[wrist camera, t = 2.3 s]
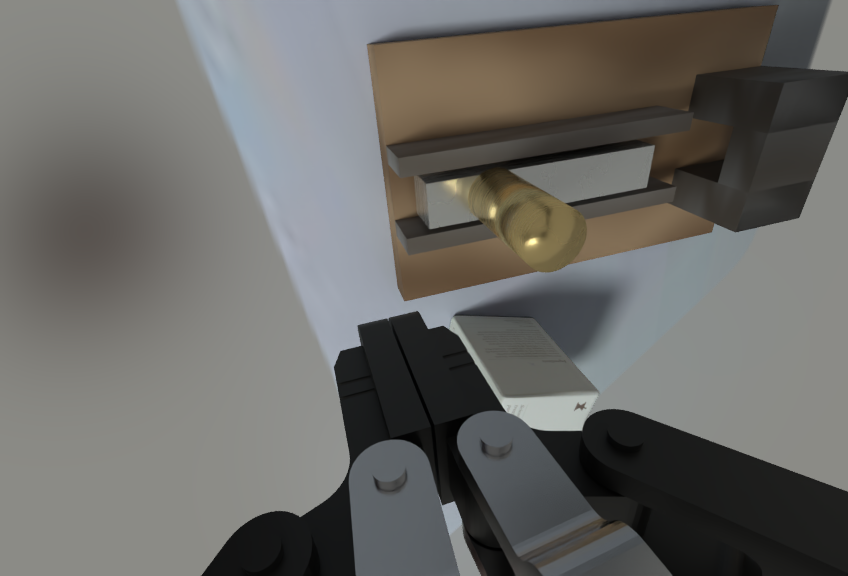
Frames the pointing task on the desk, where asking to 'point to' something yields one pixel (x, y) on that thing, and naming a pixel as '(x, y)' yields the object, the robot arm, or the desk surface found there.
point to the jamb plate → (601, 130)
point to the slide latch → (534, 197)
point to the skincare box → (527, 371)
